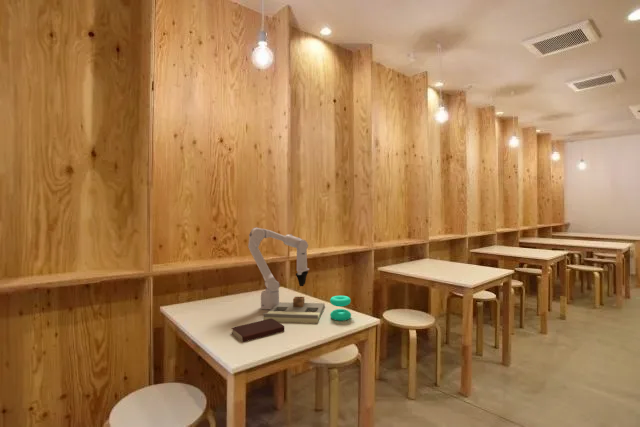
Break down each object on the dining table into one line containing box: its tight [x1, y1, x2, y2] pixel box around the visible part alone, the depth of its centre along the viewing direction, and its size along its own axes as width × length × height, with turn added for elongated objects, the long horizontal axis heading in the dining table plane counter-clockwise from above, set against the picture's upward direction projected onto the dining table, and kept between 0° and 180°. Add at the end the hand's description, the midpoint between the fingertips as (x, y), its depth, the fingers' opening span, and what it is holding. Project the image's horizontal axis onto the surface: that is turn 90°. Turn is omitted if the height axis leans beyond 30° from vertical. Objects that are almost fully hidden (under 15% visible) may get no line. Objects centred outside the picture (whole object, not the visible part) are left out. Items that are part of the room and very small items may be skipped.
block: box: [292, 296, 305, 307], centre depth 177 cm, size 5×5×4 cm
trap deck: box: [262, 301, 326, 324], centre depth 170 cm, size 26×25×4 cm
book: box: [231, 318, 285, 343], centre depth 145 cm, size 12×19×3 cm, turn 126°
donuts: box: [329, 295, 352, 322], centre depth 162 cm, size 10×10×10 cm
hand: (302, 285), depth 187 cm, fingers open, 4 cm apart
